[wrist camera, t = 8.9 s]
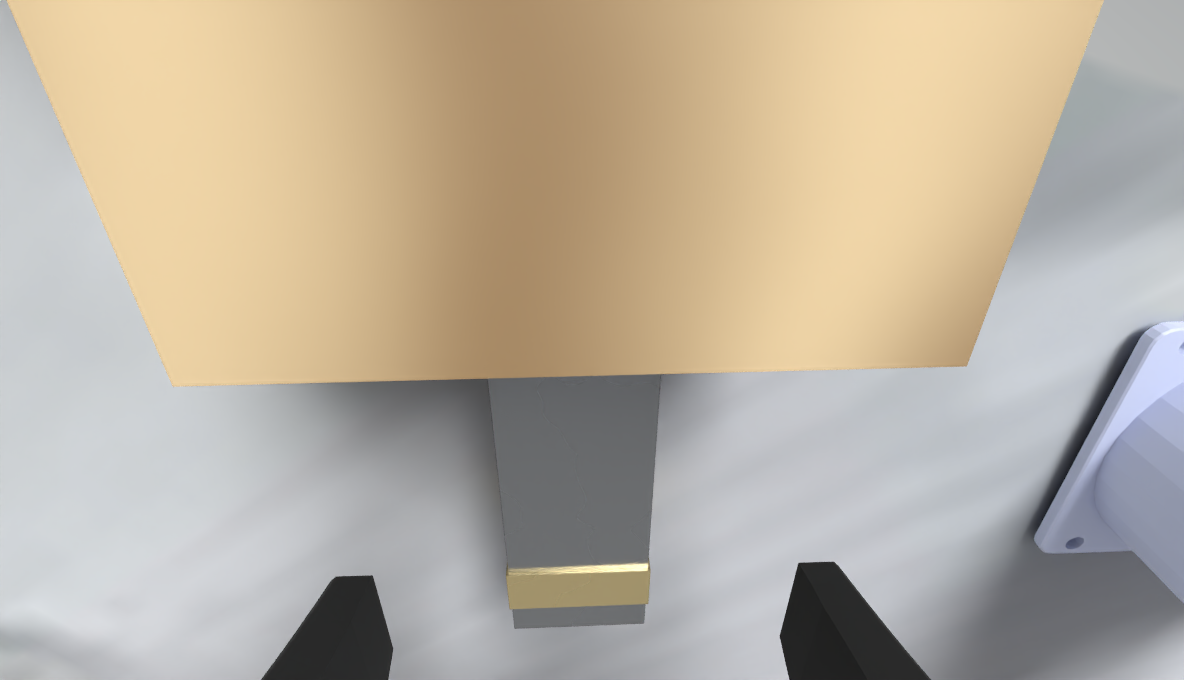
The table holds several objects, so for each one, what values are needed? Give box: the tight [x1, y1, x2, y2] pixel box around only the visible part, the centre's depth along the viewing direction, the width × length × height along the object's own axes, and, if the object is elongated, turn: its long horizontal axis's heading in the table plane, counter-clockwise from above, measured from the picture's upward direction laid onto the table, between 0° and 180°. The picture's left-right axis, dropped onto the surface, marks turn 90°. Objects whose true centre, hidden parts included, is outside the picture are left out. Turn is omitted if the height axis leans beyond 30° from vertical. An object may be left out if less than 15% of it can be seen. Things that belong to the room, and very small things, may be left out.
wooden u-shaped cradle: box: [7, 0, 1104, 387], centre depth 9 cm, size 9×5×7 cm, turn 90°
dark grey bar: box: [488, 374, 661, 629], centre depth 13 cm, size 3×16×4 cm, turn 0°
